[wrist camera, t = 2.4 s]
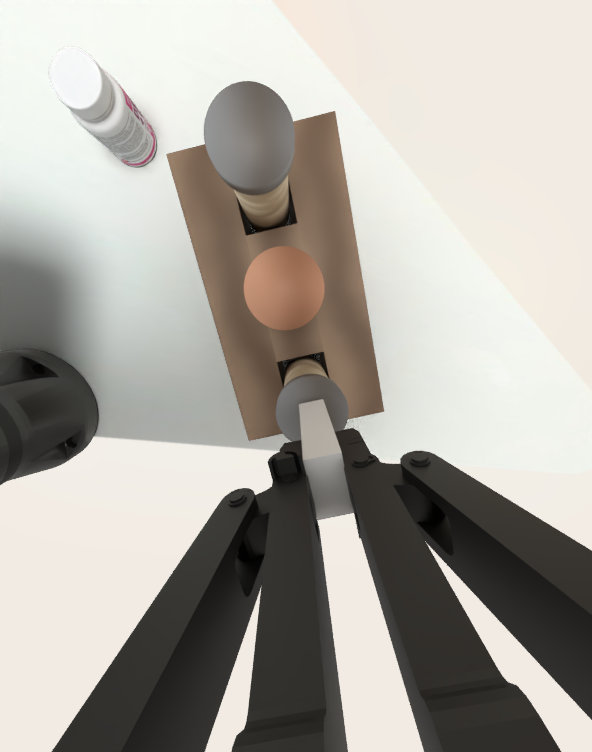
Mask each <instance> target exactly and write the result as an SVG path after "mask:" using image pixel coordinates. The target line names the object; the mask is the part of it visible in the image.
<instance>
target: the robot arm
mask: <svg viewBox="0 0 592 752" xmlns="http://www.w3.org/2000/svg"><path fill="white" fill-rule="evenodd" d="M299 413H300V427H301V440H298V441H293V442H289V443H284V445H283V446H282V447H281V449H280V452H278V453H276V454H275V455H273V456H272V457H271V458H270V459H269V461H268V465H269V468H270V472H271V476H272V479H273V484H272V487H270V488H269V489H268V490H266V491H264V492H262V493H259V494H257V495H255V494H254V492H253V490H251V489H248V488H242V489H237V490H235V491H233V492H231V493H229V494H228V495H227V496H225V497H224V498H223V499H222V501H221V502H220V503H219V505H218V506H217V508H216V509H215V511H214V512H213V514H212V515H211V517H210V518H209V520H208V521H207V523H206V524H205V526H204V527H203V529H202V530H201V531H200V533H199V534H198V536H197V538H196V539H195V540H194V542H193V543H192V545H191V546H190V548H189V549H188V551H187V552H186V554H185V555H184V557H183V558H182V560H181V561H180V563H179V564H178V566H177V567H176V569H175V570H174V571H173V573H172V575H171V576H170V577H169V579H168V580H167V582H166V583H165V585H164V586H163V588H162V589H161V591H160V592H159V594H158V595H157V597H156V598H155V600H154V601H153V603H152V604H151V606H150V607H149V609H148V610H147V611H146V613H145V614H144V616H143V617H142V619H141V620H140V622H139V623H138V625H137V626H136V628H135V629H134V631H133V632H132V634H131V635H130V637H129V638H128V640H127V641H126V643H125V644H124V646H123V647H122V649H121V650H120V652H119V653H118V654H117V656H116V657H115V659H114V660H113V662H112V664H111V665H110V666H109V668H108V669H107V671H106V672H105V674H104V675H103V677H102V678H101V680H100V681H99V683H98V684H97V686H96V687H95V689H94V690H93V691H92V693H91V695H90V696H89V697H88V699H87V700H86V702H85V703H84V705H83V706H82V708H81V709H80V711H79V712H78V714H77V715H76V717H75V718H74V720H73V721H72V723H71V724H70V726H69V727H68V728H67V730H66V731H65V733H64V735H63V736H62V738H61V739H60V740H59V742H58V743H57V745H56V746H55V748H54V749H53V751H52V752H204V751H205V749H206V746H207V743H208V740H209V737H210V734H211V731H212V728H213V725H214V722H215V719H216V717H217V714H218V711H219V708H220V705H221V702H222V699H223V696H224V693H225V690H226V687H227V685H228V681H229V679H230V676H231V672H232V670H233V667H234V664H235V661H236V658H237V655H238V652H239V649H240V646H241V644H242V641H243V638H244V635H245V632H246V629H247V626H248V623H249V620H250V617H251V614H252V612H253V609H254V605H255V603H256V600H257V597H258V594H259V591H260V588H261V585H262V588H261V596H260V605H259V615H258V624H257V633H256V642H255V652H254V662H253V670H252V681H251V690H250V698H249V708H248V716H247V722H246V725H245V728H244V730H243V731H241V732H240V733H239V734H238V735H237V736H236V739H235V742H234V745H233V747H232V752H348V749H347V741H346V734H345V726H344V718H343V710H342V702H341V695H340V687H339V679H338V672H337V663H336V655H335V647H334V640H333V632H332V624H331V616H330V608H329V601H328V593H327V585H326V578H325V570H324V562H323V554H322V546H321V538H320V530H319V526H318V522H317V520H321V519H325V518H330V517H335V516H340V515H345V514H350V513H354V514H355V519H356V524H357V529H358V534H359V538H361V540H362V543H363V547H364V550H365V554H366V557H367V560H368V564H369V567H370V570H371V574H372V577H373V580H374V584H375V587H376V591H377V594H378V597H379V601H380V604H381V608H382V611H383V614H384V617H385V621H386V624H387V628H388V630H389V634H390V638H391V641H392V644H393V648H394V651H395V654H396V658H397V661H398V665H399V668H400V671H401V674H402V678H403V681H404V685H405V688H406V692H407V695H408V698H409V702H410V705H411V708H412V712H413V715H414V718H415V722H416V725H417V729H418V732H419V735H420V739H421V742H422V746H423V749H424V752H561V751H560V749H559V748H558V746H557V744H556V742H555V741H554V739H553V737H552V736H551V734H550V733H549V731H548V729H547V728H546V726H545V724H544V723H543V721H542V719H541V718H540V716H539V714H538V713H537V712H536V710H535V709H534V707H533V705H532V704H531V702H530V701H529V699H528V698H527V697H526V695H525V694H524V693H523V692H522V691H521V690H520V689H519V687H518V686H516V685H514V684H511V683H508V682H507V681H506V680H505V679H504V677H503V676H502V675H501V673H500V671H499V670H498V668H497V667H496V665H495V663H494V662H493V660H492V658H491V656H490V654H489V653H488V651H487V649H486V647H485V646H484V644H483V642H482V640H481V639H480V637H479V635H478V633H477V632H476V630H475V628H474V627H473V625H472V623H471V621H470V619H469V617H468V616H467V614H466V612H465V610H464V609H463V607H462V605H461V604H460V602H459V600H458V598H457V596H456V595H455V593H454V591H453V589H452V588H451V586H450V584H449V582H448V581H447V579H446V577H445V575H444V574H443V572H442V570H441V568H440V567H439V565H438V563H437V561H436V560H435V558H434V556H433V554H432V553H431V551H430V549H429V547H428V545H429V546H430V547H431V548H432V549H433V550H434V551H435V552H436V553H437V554H438V555H439V556H440V557H441V558H442V560H443V561H444V562H445V563H446V564H447V565H448V566H449V567H450V568H451V569H452V570H453V571H454V573H455V574H456V575H457V576H458V577H459V578H460V579H461V580H462V581H463V582H464V583H465V584H466V585H467V586H468V588H469V589H470V590H471V591H472V592H473V593H474V594H475V595H476V596H477V597H478V598H479V599H480V600H481V601H482V603H483V604H484V605H485V606H486V607H487V608H488V609H489V610H490V611H491V612H492V613H493V614H494V615H495V617H496V618H497V619H498V620H499V621H500V622H501V623H502V624H503V625H504V626H505V627H506V628H507V629H508V630H509V631H510V633H511V634H512V635H513V636H514V637H515V638H516V639H517V640H518V641H519V642H520V643H521V644H522V646H523V647H525V649H526V650H527V651H528V652H529V653H530V654H531V655H532V656H533V657H534V658H535V659H536V660H537V662H538V663H539V664H540V665H541V666H542V667H543V668H544V669H545V670H546V671H547V672H548V673H549V674H550V675H551V677H552V678H553V679H554V680H555V681H556V682H557V683H558V684H559V685H560V686H561V687H562V688H563V689H564V691H565V692H566V693H567V694H568V695H569V696H570V697H571V698H572V699H573V700H574V701H575V702H576V703H577V705H578V706H579V707H580V708H581V709H582V710H583V711H584V712H585V713H586V714H587V715H588V716H589V717H590V718H591V720H592V551H591V550H589V549H588V548H586V547H585V546H583V545H581V544H580V543H578V542H576V541H575V540H573V539H572V538H570V537H568V536H567V535H565V534H563V533H562V532H560V531H559V530H557V529H555V528H553V527H552V526H550V525H549V524H547V523H545V522H544V521H542V520H541V519H539V518H537V517H536V516H534V515H532V514H531V513H529V512H528V511H526V510H524V509H523V508H521V507H519V506H518V505H516V504H515V503H513V502H511V501H510V500H508V499H506V498H505V497H503V496H502V495H500V494H498V493H497V492H495V491H493V490H492V489H490V488H488V487H487V486H485V485H483V484H482V483H480V482H479V481H477V480H475V479H474V478H472V477H471V476H469V475H467V474H466V473H464V472H462V471H460V470H459V469H458V468H456V467H454V466H453V465H451V464H449V463H448V462H446V461H445V460H443V459H441V458H440V457H438V456H436V455H435V454H432V453H430V452H425V451H413V452H409V453H407V454H405V455H403V456H402V458H401V459H400V460H401V464H386V463H381V462H380V461H379V459H378V458H377V457H376V456H375V455H373V454H371V453H370V451H369V449H368V448H367V446H366V444H365V442H364V440H363V438H362V437H361V435H360V433H359V431H357V430H355V429H353V428H350V429H346V430H341V431H336V432H334V429H333V426H332V423H331V420H330V417H329V414H328V412H327V409H326V406H325V403H324V400H323V399H320V400H316V401H311V402H307V403H302V404H299ZM97 422H98V412H97V405H96V402H95V398H94V396H93V393H92V391H91V389H90V388H89V386H88V384H87V383H86V381H85V380H84V379H83V378H82V376H81V375H80V374H79V373H78V372H77V371H76V370H75V369H74V368H73V367H71V366H70V365H69V364H67V363H66V362H64V361H63V360H61V359H59V358H58V357H55V356H53V355H51V354H48V353H45V352H42V351H38V350H32V349H16V350H9V351H2V352H0V485H1V484H3V483H4V482H6V481H9V480H12V479H16V478H19V477H23V476H26V475H29V474H33V473H37V472H40V471H44V470H47V469H51V468H54V467H57V466H59V465H61V464H63V463H65V462H67V461H68V460H70V459H71V458H73V457H74V456H76V455H77V454H78V453H80V452H81V451H83V450H84V448H86V447H87V446H88V444H89V443H90V442H91V440H92V438H93V436H94V434H95V431H96V428H97ZM425 541H426V542H425ZM426 543H427V544H428V545H427V544H426Z"/></svg>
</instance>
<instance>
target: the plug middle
mask: <svg viewBox="0 0 592 752" xmlns="http://www.w3.org/2000/svg"><path fill="white" fill-rule="evenodd" d="M324 291H325V290H324V279H323V275H322V273H321V270H320V268H319V267H318V265H317V263H316V262H315V261H314V260H313V259H312V258H311V257H310V256H309V255H308V254H307V253H305V252H303V251H302V250H300V249H297V248H294V247H289V246H278V247H273V248H270V249H268V250H266V251H264V252H262V253H261V254H260V255H258V256H257V257H256V258H255V259H254V260H253V262H252V263H251V265H250V266H249V268H248V270H247V273H246V276H245V280H244V296H245V300H246V303H247V306H248V308H249V310H250V311H251V313H252V314H253V315H254V317H255V318H256V319H257V320H259V321H260V322H261V323H262V324H264V325H266V326H268V327H270V328H273V329H277V330H293V329H296V328H299V327H301V326H303V325H305V324H307V323H308V322H309V321H310V320H312V319H313V317H314V316H315V315H316V314H317V312H318V311H319V309H320V307H321V305H322V302H323V298H324Z"/></svg>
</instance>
